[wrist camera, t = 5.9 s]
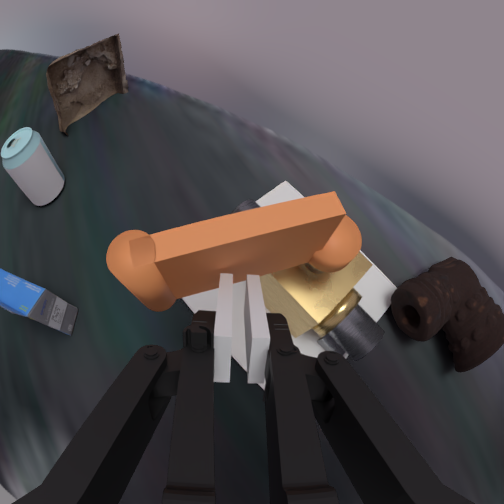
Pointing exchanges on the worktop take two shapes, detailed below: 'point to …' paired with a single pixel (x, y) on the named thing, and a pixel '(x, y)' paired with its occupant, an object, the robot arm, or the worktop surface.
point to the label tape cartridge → (36, 303)
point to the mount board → (369, 287)
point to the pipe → (451, 312)
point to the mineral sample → (86, 79)
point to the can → (32, 166)
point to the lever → (234, 248)
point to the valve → (322, 303)
